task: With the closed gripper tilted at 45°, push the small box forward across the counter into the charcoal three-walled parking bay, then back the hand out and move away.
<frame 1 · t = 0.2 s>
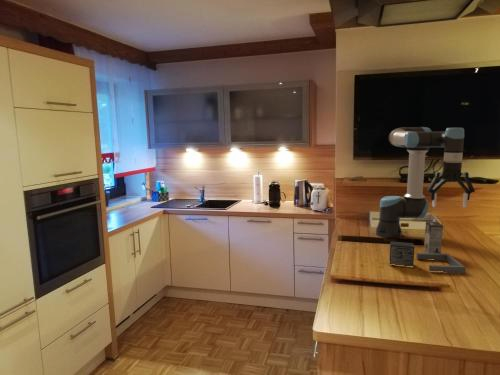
hand: (449, 207, 176), 28 cm above the worktop, tool pointing down, fingers open, 13 cm apart
coffee box: (432, 253, 196), on the worktop
small box: (401, 265, 180), on the worktop
parking bay: (434, 265, 178), on the worktop
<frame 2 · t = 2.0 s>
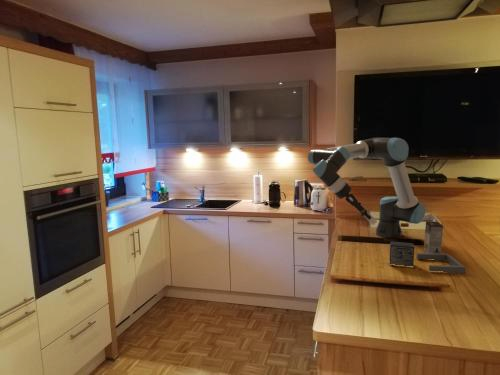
hand: (371, 219, 177), 22 cm above the worktop, tool tilted 45°, fingers open, 13 cm apart
nothing on the worktop moved.
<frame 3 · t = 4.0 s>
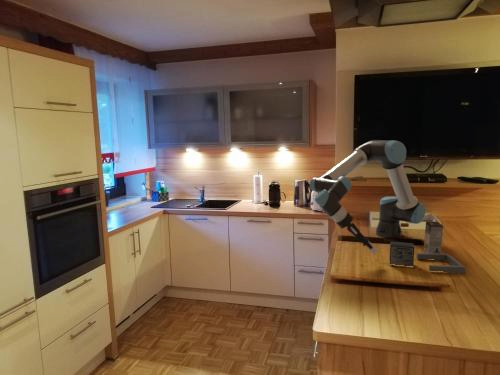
hand: (375, 252, 180), 6 cm above the worktop, tool tilted 45°, fingers closed
nothing on the worktop moved.
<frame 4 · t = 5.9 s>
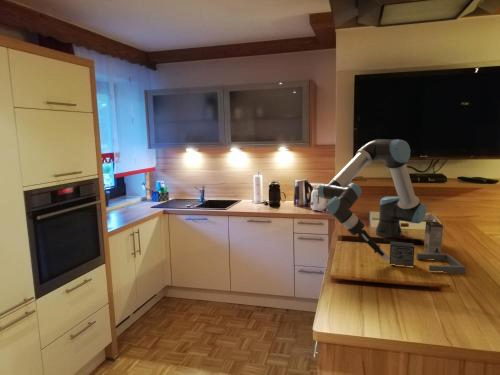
hand: (387, 259, 179), 3 cm above the worktop, tool tilted 45°, fingers closed
small box: (401, 265, 180), on the worktop, touching gripper
everything else where it was.
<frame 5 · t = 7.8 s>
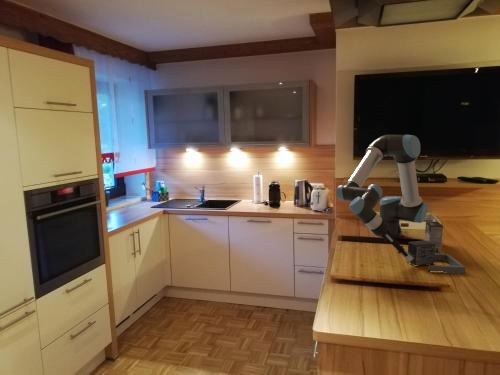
hand: (410, 259, 178), 3 cm above the worktop, tool tilted 45°, fingers closed
small box: (420, 263, 181), on the worktop, touching gripper
everything else where it was.
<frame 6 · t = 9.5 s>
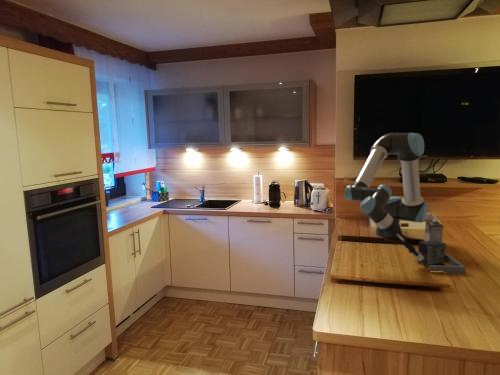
hand: (421, 259, 178), 3 cm above the worktop, tool tilted 45°, fingers closed
small box: (430, 263, 181), on the worktop, touching gripper, parking bay
everything else where it was.
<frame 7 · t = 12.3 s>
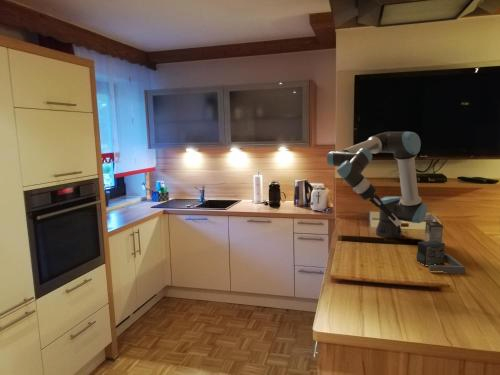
hand: (398, 224, 177), 20 cm above the worktop, tool tilted 45°, fingers closed
small box: (429, 263, 182), on the worktop
everything else where it was.
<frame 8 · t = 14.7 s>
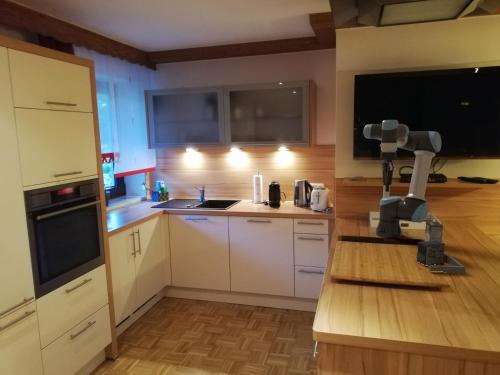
hand: (386, 197, 192), 29 cm above the worktop, tool pointing down, fingers closed
nothing on the worktop moved.
at the end: small box inside the target area on the parking bay (3.8 cm from its centre), point 0.0 cm above the parking bay's base; small box tilted 0°; the gripper is holding nothing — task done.
